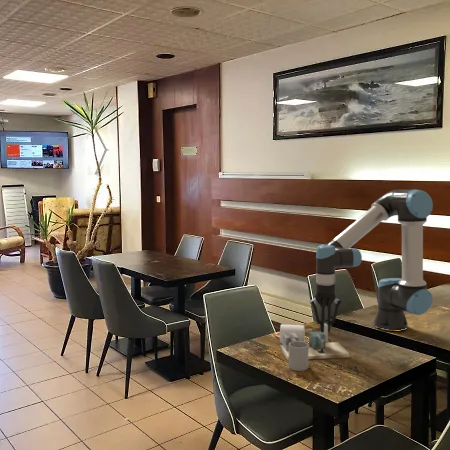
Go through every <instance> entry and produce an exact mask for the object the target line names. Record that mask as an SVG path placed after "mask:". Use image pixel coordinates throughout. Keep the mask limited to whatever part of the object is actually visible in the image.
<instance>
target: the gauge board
mask: <svg viewBox="0 0 450 450" xmlns="http://www.w3.org/2000/svg"><path fill="white" fill-rule="evenodd" d="M293 341H298V336H297V335H296V334H295V333H283V344H279V349H280V351H281V352H282V355H284V357H285V359H287V361H289V343H290V342H293ZM307 344H308V360H319V359H320V360H321V359H337V358H338V359H339V358H350V357H351V354H350V352H349V351H348V350H346V349H345V347H343V346H342V345H341V343H339V342H338V341H336V342H335V341H334V342H333V341H332V342H325V348H323V351H321V348H317V349H313V348H312V346H311V345H310V344H309V343H307Z"/></svg>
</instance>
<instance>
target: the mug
mask: <svg viewBox="0 0 450 450" xmlns="http://www.w3.org/2000/svg"><path fill="white" fill-rule="evenodd" d="M305 331H306V330H305V325H302V324H301V325H300V324H282V323H281V324H280V330H279V343H280V344H281V345H283V333H295V334H296V335H297V336H298V341H302V342H305V339H306V338H305V337H306V334H305Z"/></svg>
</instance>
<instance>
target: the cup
mask: <svg viewBox="0 0 450 450" xmlns="http://www.w3.org/2000/svg"><path fill="white" fill-rule="evenodd" d="M308 344H309V343H308V342H306V341H304V342H302V341H293V342H290V343H289V360H288V368H289V369H290V370H292V371H294V372H304V371H307V370H308V369H309V359H308Z"/></svg>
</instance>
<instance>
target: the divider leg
mask: <svg viewBox="0 0 450 450" xmlns="http://www.w3.org/2000/svg"><path fill="white" fill-rule="evenodd" d="M308 333H309V334H308V337H309V339H308V344H310V345H311V346H312V348H313V349H317V348H321V351H323V348H325V343H326V341H325V335H324V334H323V333H321V332H320V331H309V332H308Z"/></svg>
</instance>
